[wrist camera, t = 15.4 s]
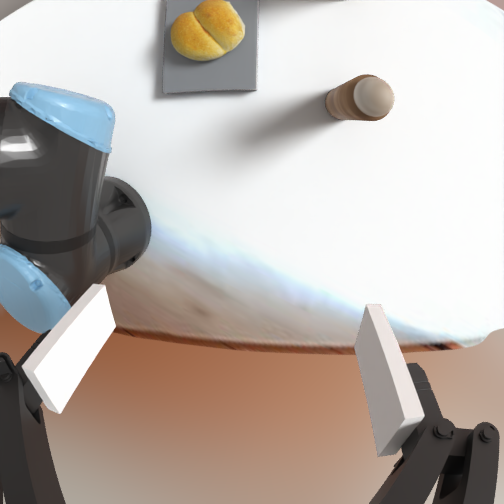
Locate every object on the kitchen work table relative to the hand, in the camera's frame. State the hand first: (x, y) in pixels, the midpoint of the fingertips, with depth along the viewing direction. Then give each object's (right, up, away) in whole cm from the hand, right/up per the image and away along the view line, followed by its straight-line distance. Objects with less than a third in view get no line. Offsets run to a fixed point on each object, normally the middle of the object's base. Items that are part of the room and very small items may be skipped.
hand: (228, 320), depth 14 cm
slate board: (-4, +32, +18) cm, 36 cm away
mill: (+13, +22, +20) cm, 33 cm away
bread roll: (-4, +31, +16) cm, 35 cm away
